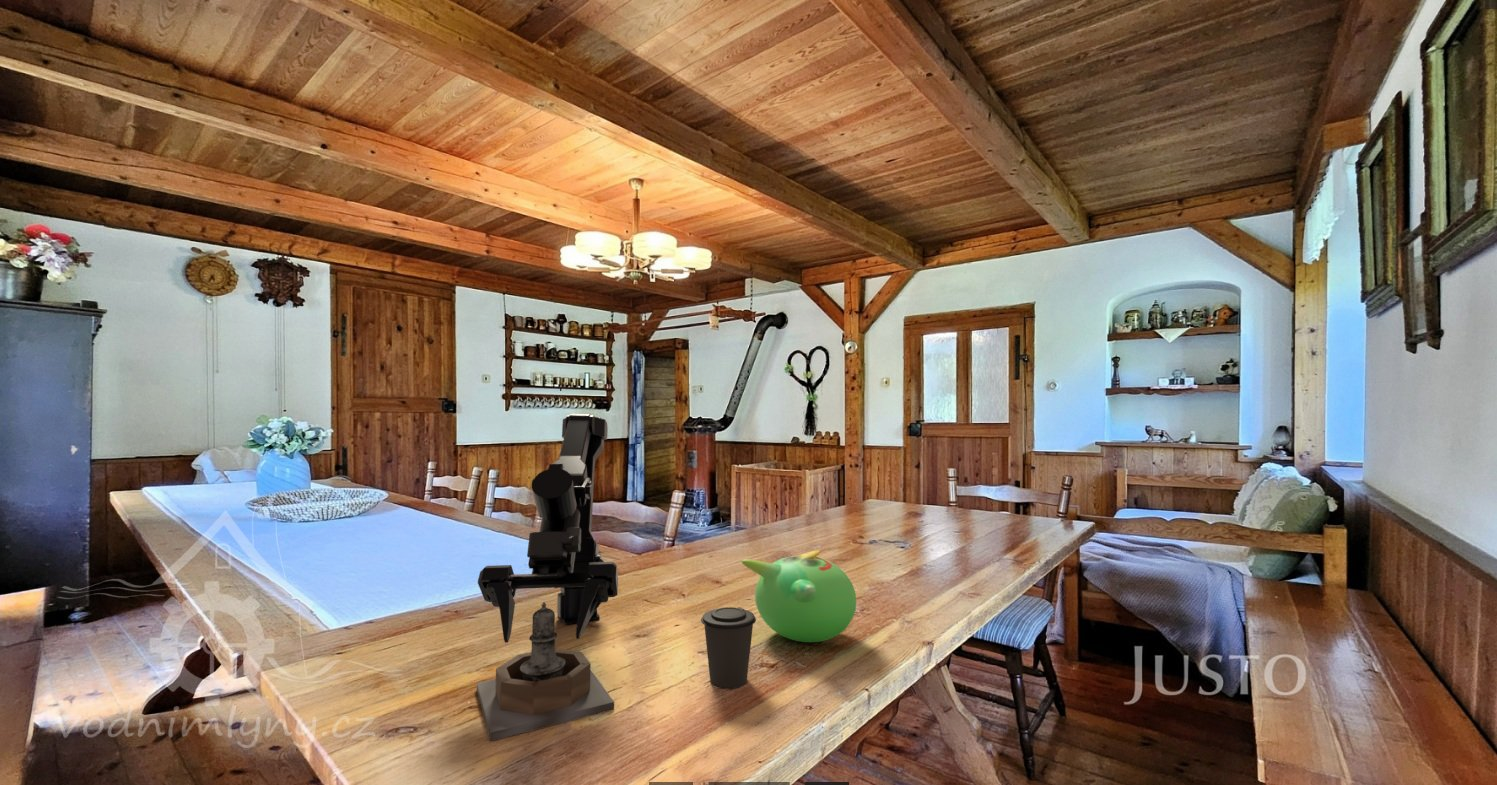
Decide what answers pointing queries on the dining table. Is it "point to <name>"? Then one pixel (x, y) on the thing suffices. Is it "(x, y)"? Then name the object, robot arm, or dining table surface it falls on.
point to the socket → (540, 696)
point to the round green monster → (804, 597)
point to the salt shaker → (543, 649)
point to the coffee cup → (728, 645)
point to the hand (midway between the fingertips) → (542, 639)
